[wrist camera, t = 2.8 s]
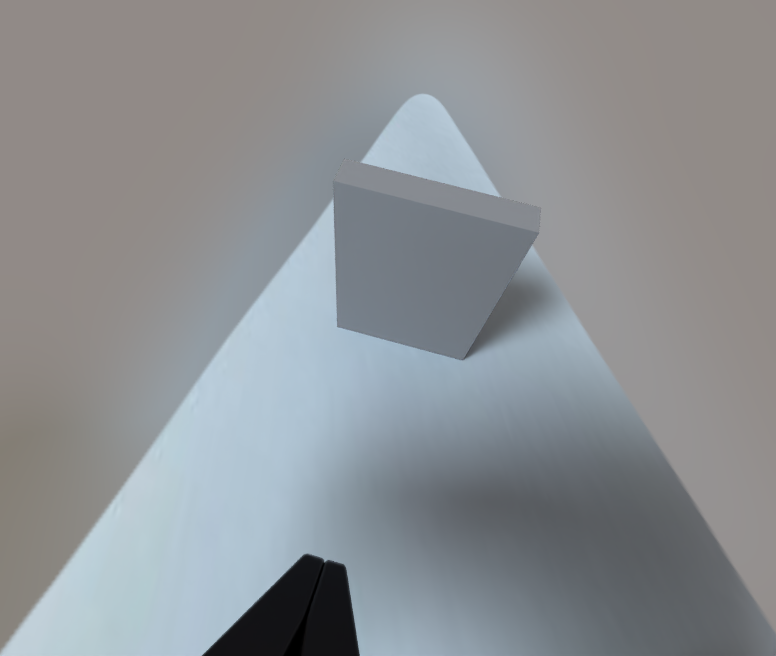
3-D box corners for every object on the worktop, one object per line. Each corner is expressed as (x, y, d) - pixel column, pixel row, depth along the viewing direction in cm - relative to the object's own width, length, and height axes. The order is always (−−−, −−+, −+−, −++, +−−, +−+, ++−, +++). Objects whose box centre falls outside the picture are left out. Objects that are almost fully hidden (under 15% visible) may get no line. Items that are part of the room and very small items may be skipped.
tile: (462, 360, 24) (539, 232, 15) (337, 326, 24) (333, 180, 15) (466, 339, 25) (541, 204, 15) (344, 306, 25) (345, 156, 16)
